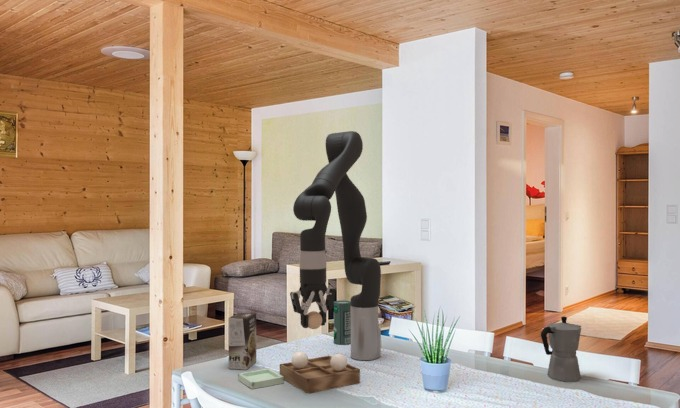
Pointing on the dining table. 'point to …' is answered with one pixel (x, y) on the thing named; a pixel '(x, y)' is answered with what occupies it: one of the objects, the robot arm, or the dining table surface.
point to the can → (342, 322)
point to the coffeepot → (562, 350)
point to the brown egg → (314, 320)
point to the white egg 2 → (338, 362)
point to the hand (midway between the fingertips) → (313, 326)
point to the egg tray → (319, 375)
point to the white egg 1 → (299, 360)
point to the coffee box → (242, 341)
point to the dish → (260, 378)
